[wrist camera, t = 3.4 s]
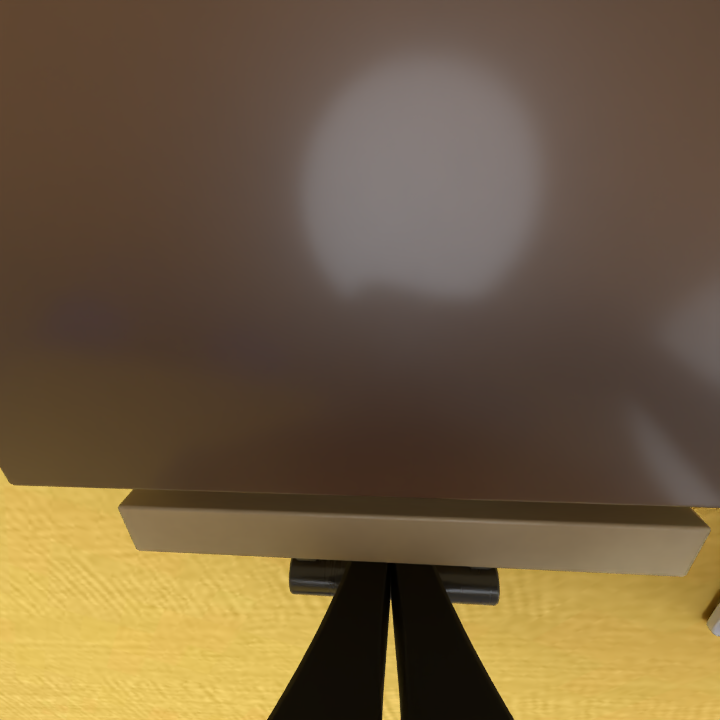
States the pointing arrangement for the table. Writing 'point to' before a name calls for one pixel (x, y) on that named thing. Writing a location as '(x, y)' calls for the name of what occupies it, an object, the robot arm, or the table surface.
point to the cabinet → (362, 248)
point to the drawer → (417, 535)
